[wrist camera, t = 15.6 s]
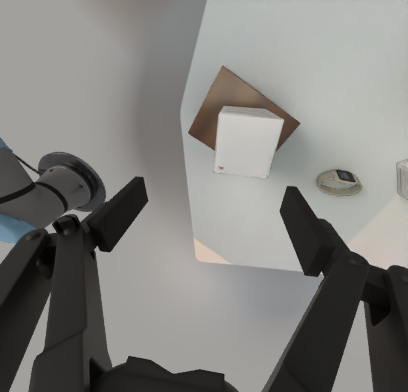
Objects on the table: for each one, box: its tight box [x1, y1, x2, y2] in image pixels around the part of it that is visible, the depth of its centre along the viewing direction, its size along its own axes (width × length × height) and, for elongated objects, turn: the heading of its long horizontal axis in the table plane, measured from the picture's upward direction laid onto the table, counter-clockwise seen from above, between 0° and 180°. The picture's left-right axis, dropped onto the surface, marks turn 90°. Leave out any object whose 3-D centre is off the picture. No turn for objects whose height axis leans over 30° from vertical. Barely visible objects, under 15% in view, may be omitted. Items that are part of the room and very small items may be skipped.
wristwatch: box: [317, 170, 362, 197], centre depth 41 cm, size 9×6×5 cm
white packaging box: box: [213, 106, 284, 178], centre depth 26 cm, size 7×7×13 cm
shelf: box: [188, 66, 300, 152], centre depth 35 cm, size 16×12×10 cm
